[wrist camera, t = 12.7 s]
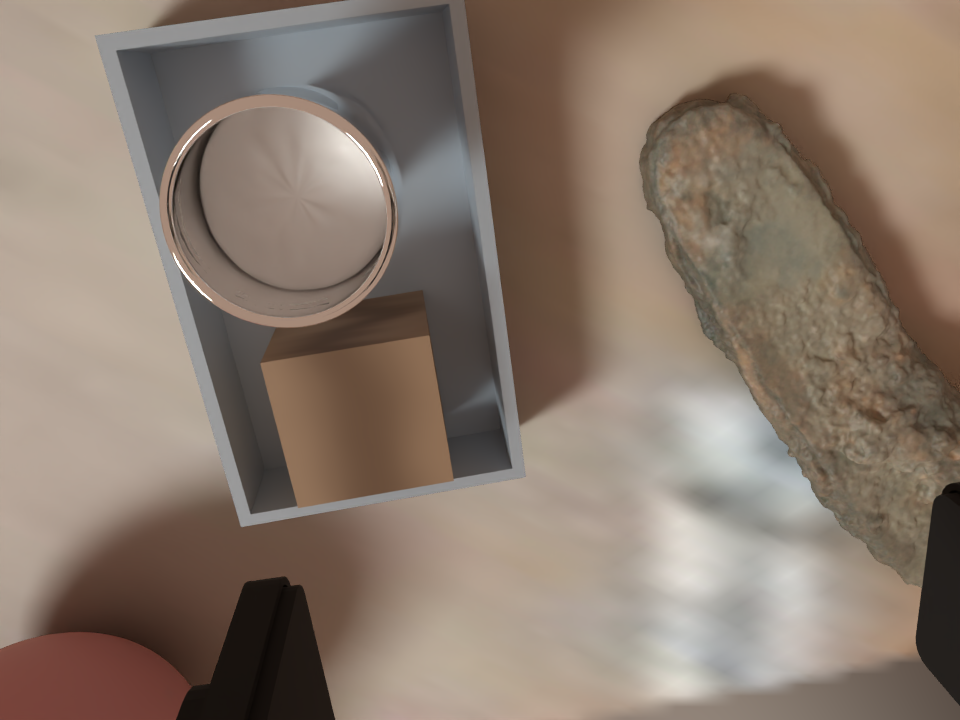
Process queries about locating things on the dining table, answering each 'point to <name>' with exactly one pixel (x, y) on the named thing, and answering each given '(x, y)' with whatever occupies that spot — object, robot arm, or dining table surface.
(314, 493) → the walnut block
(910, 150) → the dining table surface
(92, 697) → the balloon
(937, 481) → the elongated rock
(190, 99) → the tote
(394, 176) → the beer glass
